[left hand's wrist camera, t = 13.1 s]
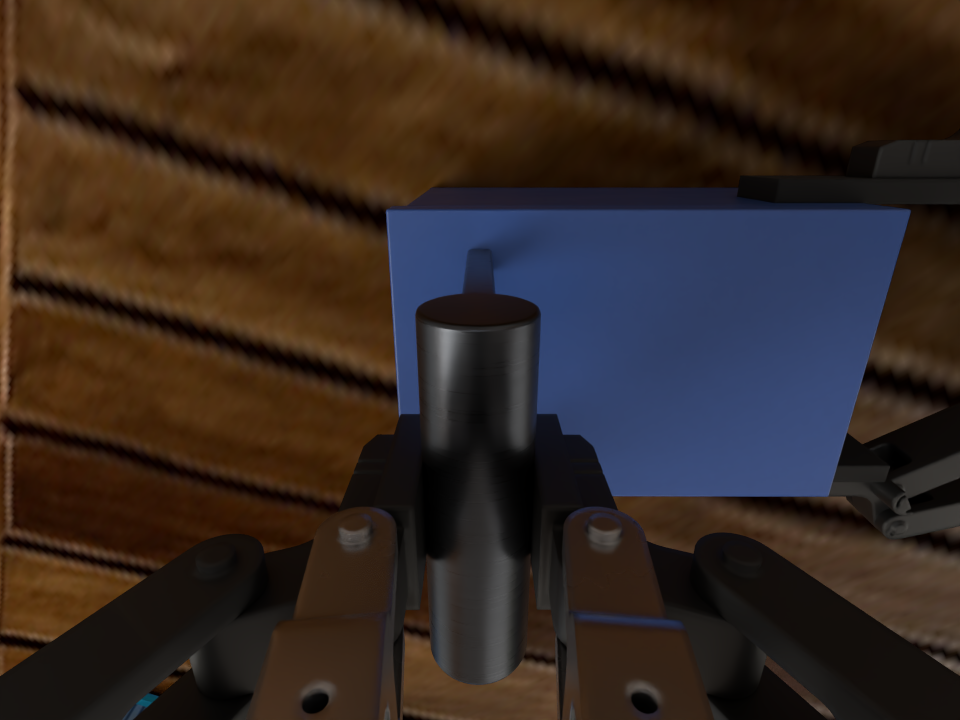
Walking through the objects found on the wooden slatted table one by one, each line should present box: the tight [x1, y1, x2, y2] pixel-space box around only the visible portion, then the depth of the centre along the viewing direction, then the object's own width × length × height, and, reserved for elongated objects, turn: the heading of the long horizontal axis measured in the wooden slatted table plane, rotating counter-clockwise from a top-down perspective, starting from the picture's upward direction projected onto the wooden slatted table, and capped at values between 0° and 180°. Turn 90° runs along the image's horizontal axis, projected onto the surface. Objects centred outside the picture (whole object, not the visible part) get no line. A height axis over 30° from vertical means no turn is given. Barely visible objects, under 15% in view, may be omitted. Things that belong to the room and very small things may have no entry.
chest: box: [407, 188, 881, 206], centre depth 22 cm, size 15×10×9 cm
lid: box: [386, 206, 911, 685], centre depth 14 cm, size 15×10×9 cm, turn 90°
